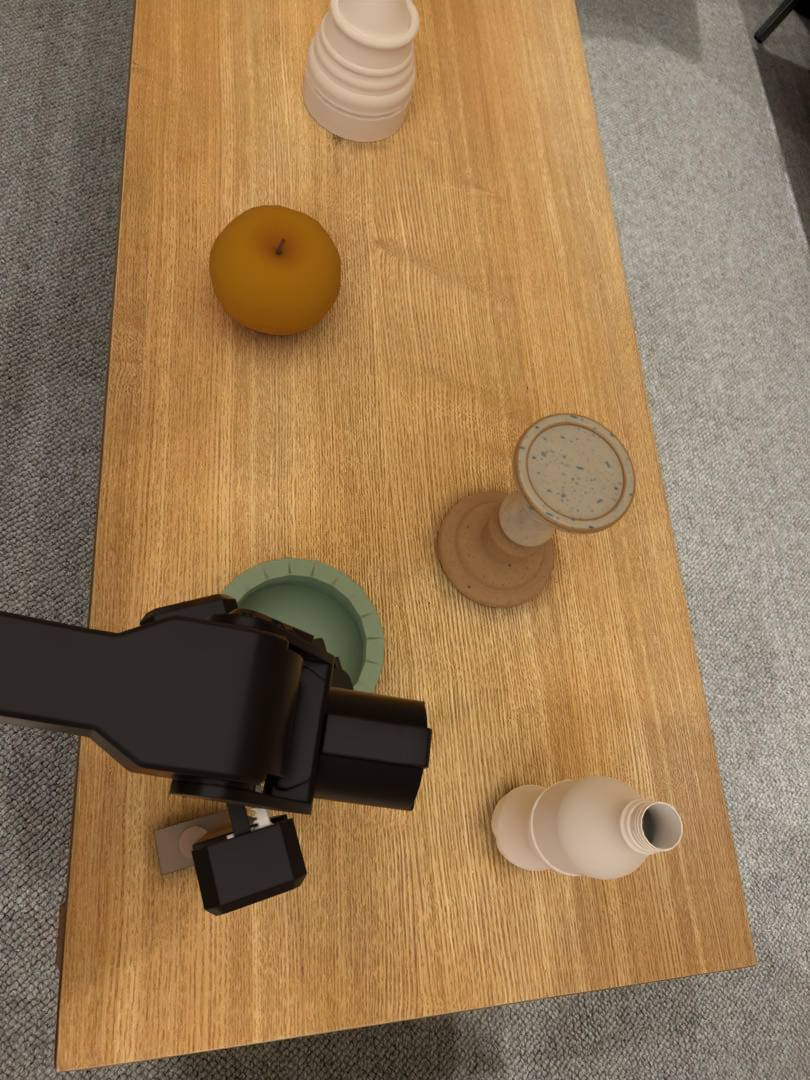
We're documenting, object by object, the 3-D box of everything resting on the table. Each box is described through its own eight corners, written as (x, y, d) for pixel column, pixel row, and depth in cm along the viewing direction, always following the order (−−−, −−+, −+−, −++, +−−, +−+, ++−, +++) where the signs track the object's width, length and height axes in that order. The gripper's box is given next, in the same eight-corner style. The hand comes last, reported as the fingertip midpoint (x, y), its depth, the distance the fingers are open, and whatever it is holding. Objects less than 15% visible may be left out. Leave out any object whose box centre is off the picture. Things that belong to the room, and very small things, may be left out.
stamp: (163, 874, 66) (158, 878, 60) (155, 830, 67) (149, 830, 61) (236, 851, 68) (239, 854, 62) (227, 809, 69) (229, 807, 63)
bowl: (222, 765, 70) (224, 759, 64) (187, 599, 74) (185, 578, 68) (388, 720, 75) (405, 710, 68) (346, 566, 79) (358, 542, 72)
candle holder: (430, 494, 83) (494, 398, 65) (541, 495, 86) (633, 403, 68) (442, 611, 79) (514, 544, 61) (559, 607, 82) (661, 542, 64)
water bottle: (546, 881, 73) (701, 905, 50) (473, 852, 72) (597, 863, 49) (566, 802, 76) (722, 791, 53) (497, 774, 75) (624, 750, 52)
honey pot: (427, 110, 101) (470, -31, 84) (358, 159, 96) (390, 19, 79) (351, 44, 102) (379, -108, 85) (280, 89, 97) (294, -63, 80)
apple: (346, 351, 87) (365, 285, 76) (226, 373, 83) (229, 306, 72) (310, 252, 90) (324, 176, 79) (194, 268, 86) (192, 190, 75)
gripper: (412, 858, 44) (360, 851, 58) (319, 543, 49) (293, 608, 63) (207, 932, 41) (206, 906, 55) (129, 586, 45) (146, 644, 60)
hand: (218, 756), depth 58 cm, fingers open, 9 cm apart
